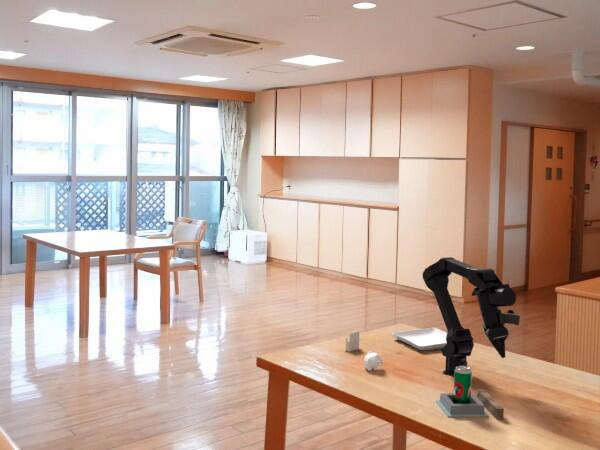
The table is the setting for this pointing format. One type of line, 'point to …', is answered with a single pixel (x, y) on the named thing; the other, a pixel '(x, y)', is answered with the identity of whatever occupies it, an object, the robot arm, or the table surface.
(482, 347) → the table surface
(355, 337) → the architectural model
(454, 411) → the socket
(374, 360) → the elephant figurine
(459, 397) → the soda can
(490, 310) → the robot arm
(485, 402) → the long brown rectangular bar
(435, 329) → the salad plate
